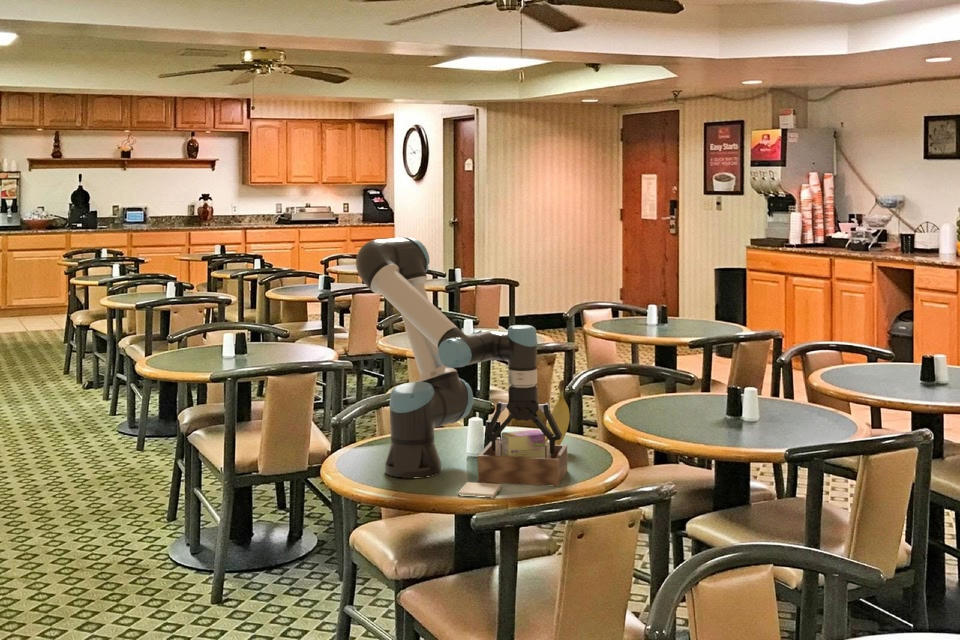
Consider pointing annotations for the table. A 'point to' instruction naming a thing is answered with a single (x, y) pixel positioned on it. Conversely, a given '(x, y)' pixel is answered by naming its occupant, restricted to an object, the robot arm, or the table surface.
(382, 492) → the table surface
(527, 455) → the box
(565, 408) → the banana
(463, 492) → the tile
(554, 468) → the crate
